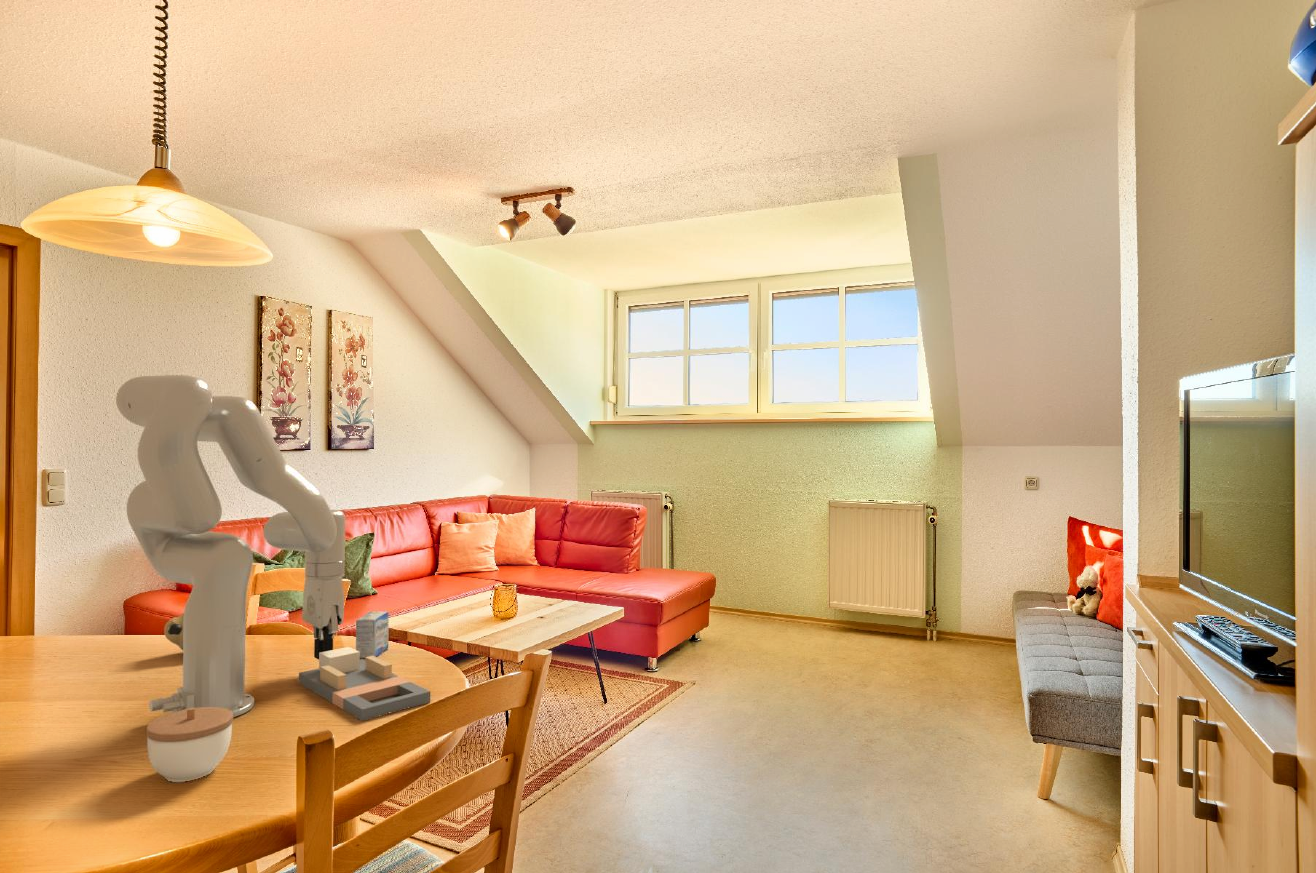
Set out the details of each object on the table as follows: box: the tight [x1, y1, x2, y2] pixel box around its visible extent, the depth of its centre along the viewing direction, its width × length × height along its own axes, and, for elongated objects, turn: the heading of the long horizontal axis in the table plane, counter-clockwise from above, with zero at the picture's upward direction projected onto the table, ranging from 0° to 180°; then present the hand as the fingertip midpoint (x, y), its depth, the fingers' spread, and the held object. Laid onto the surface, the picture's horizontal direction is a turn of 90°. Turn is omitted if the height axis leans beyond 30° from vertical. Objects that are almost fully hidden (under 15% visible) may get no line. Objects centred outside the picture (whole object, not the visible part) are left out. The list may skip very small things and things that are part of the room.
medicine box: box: [355, 611, 390, 659], centre depth 168 cm, size 8×4×9 cm, turn 179°
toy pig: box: [163, 612, 184, 651], centre depth 166 cm, size 10×12×11 cm
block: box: [318, 646, 361, 673], centre depth 150 cm, size 6×5×4 cm
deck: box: [298, 656, 431, 722], centre depth 143 cm, size 13×28×4 cm, turn 47°
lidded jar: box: [145, 707, 234, 783], centre depth 109 cm, size 11×11×9 cm
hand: (323, 657), depth 155 cm, fingers closed
